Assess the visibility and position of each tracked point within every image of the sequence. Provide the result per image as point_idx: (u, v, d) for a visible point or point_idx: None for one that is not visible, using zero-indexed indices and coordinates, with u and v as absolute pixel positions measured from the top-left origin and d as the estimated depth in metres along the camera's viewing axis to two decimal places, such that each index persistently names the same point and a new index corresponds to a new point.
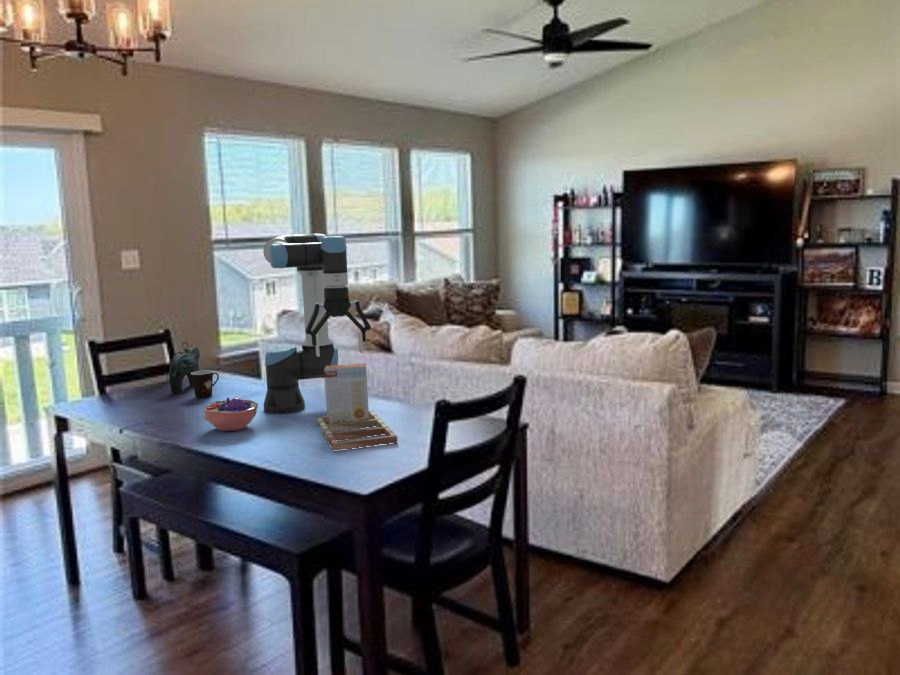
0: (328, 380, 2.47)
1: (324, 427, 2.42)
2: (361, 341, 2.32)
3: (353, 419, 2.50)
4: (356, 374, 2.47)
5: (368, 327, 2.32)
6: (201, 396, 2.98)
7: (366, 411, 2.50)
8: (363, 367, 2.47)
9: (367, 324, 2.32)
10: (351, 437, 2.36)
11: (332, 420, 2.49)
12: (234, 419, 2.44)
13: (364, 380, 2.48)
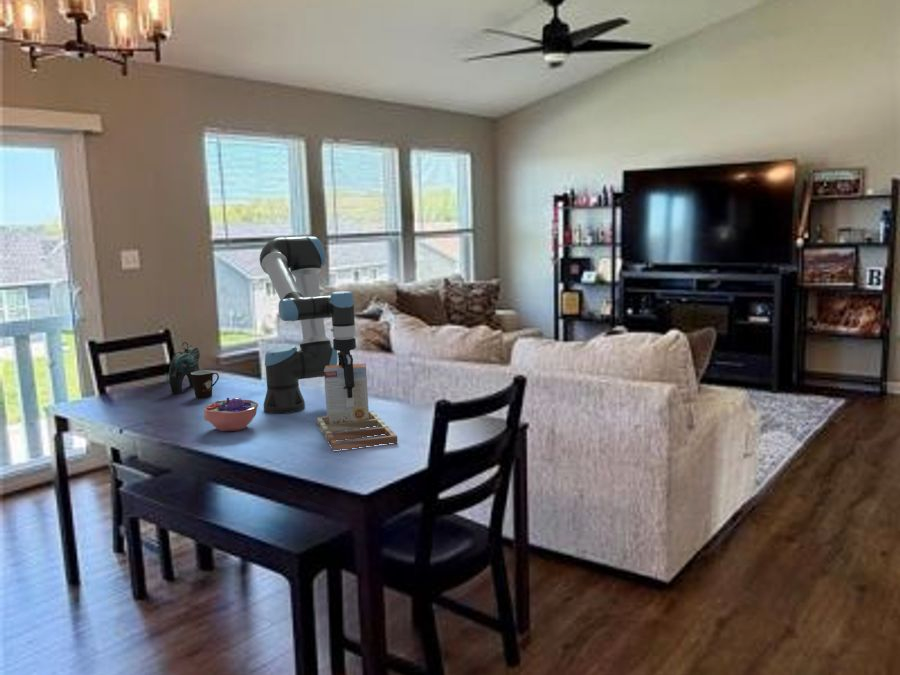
0: (328, 380, 2.47)
1: (324, 427, 2.42)
2: (345, 396, 2.47)
3: (353, 419, 2.49)
4: (356, 374, 2.47)
5: None
6: (201, 396, 2.98)
7: (366, 411, 2.50)
8: (363, 367, 2.47)
9: (346, 382, 2.44)
10: (351, 437, 2.36)
11: (332, 421, 2.49)
12: (234, 419, 2.44)
13: (364, 380, 2.48)
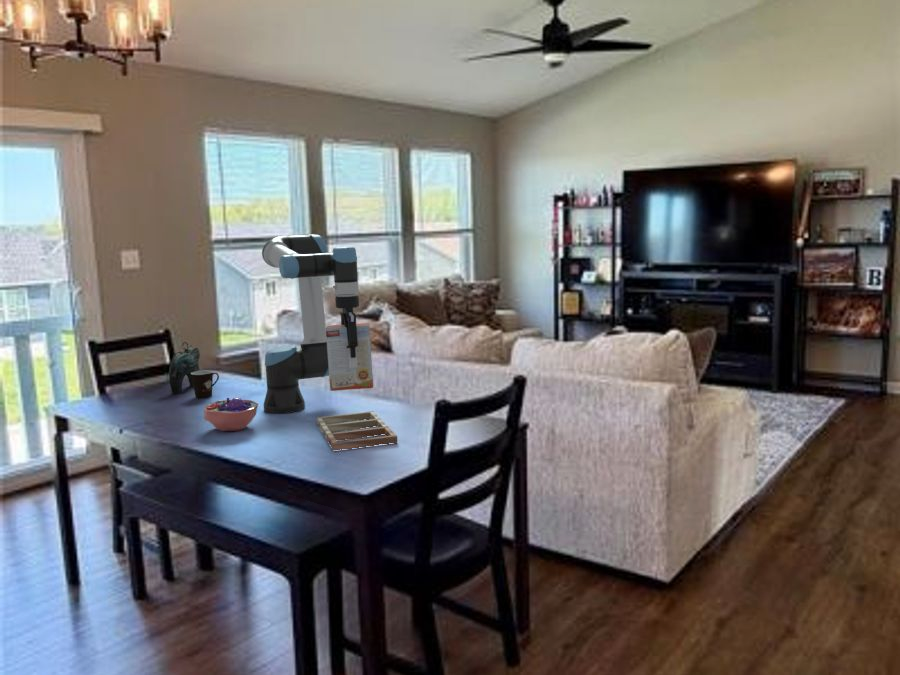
0: (330, 340, 2.36)
1: (324, 427, 2.42)
2: (348, 356, 2.36)
3: (356, 381, 2.39)
4: (359, 333, 2.37)
5: (349, 344, 2.33)
6: (201, 396, 2.98)
7: (370, 372, 2.39)
8: (367, 326, 2.37)
9: (349, 341, 2.33)
10: (351, 437, 2.36)
11: (335, 382, 2.38)
12: (234, 419, 2.44)
13: (368, 340, 2.37)
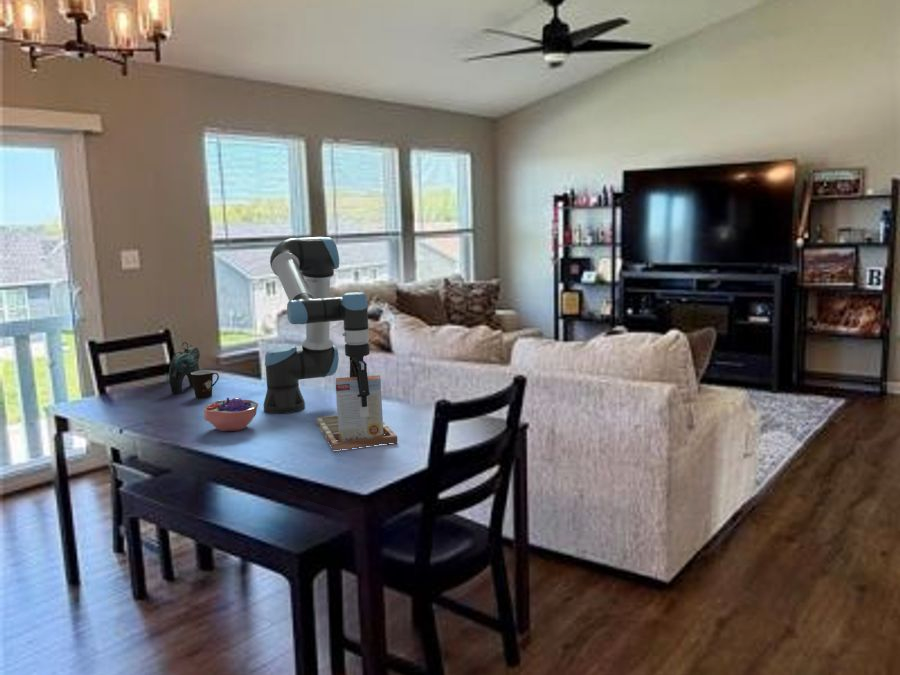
0: (340, 394, 2.27)
1: (324, 427, 2.42)
2: (359, 405, 2.25)
3: (367, 436, 2.30)
4: (370, 387, 2.28)
5: (360, 393, 2.22)
6: (201, 396, 2.98)
7: (381, 427, 2.30)
8: (378, 379, 2.28)
9: (360, 390, 2.22)
10: None
11: (344, 438, 2.29)
12: (234, 419, 2.44)
13: (379, 393, 2.29)
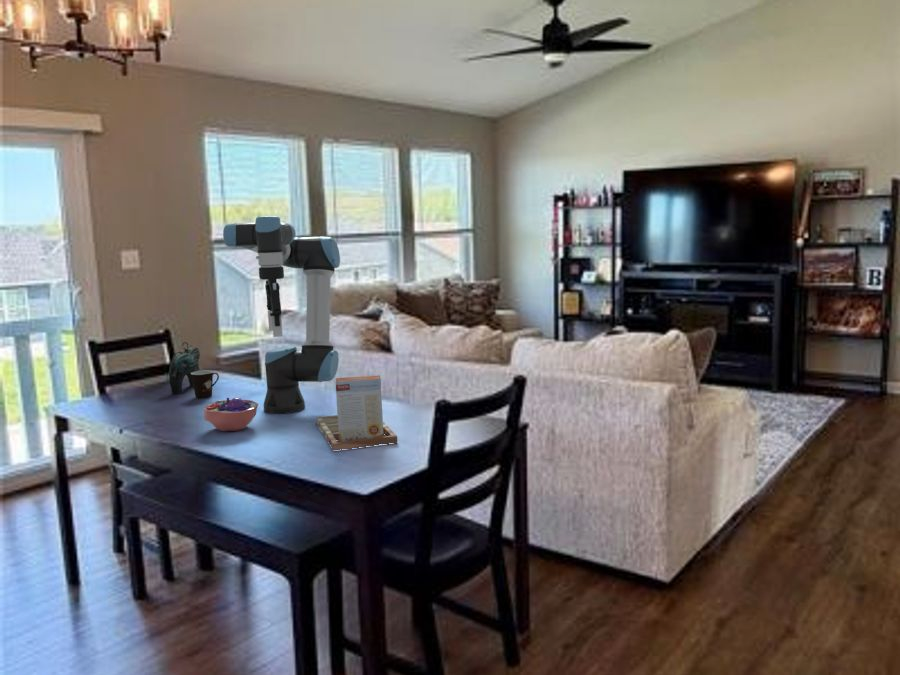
0: (340, 394, 2.27)
1: (324, 427, 2.42)
2: (272, 325, 2.26)
3: (367, 436, 2.30)
4: (370, 387, 2.28)
5: (272, 312, 2.23)
6: (201, 396, 2.98)
7: (381, 427, 2.30)
8: (378, 379, 2.28)
9: (272, 308, 2.23)
10: None
11: (344, 438, 2.29)
12: (234, 419, 2.44)
13: (379, 393, 2.29)
